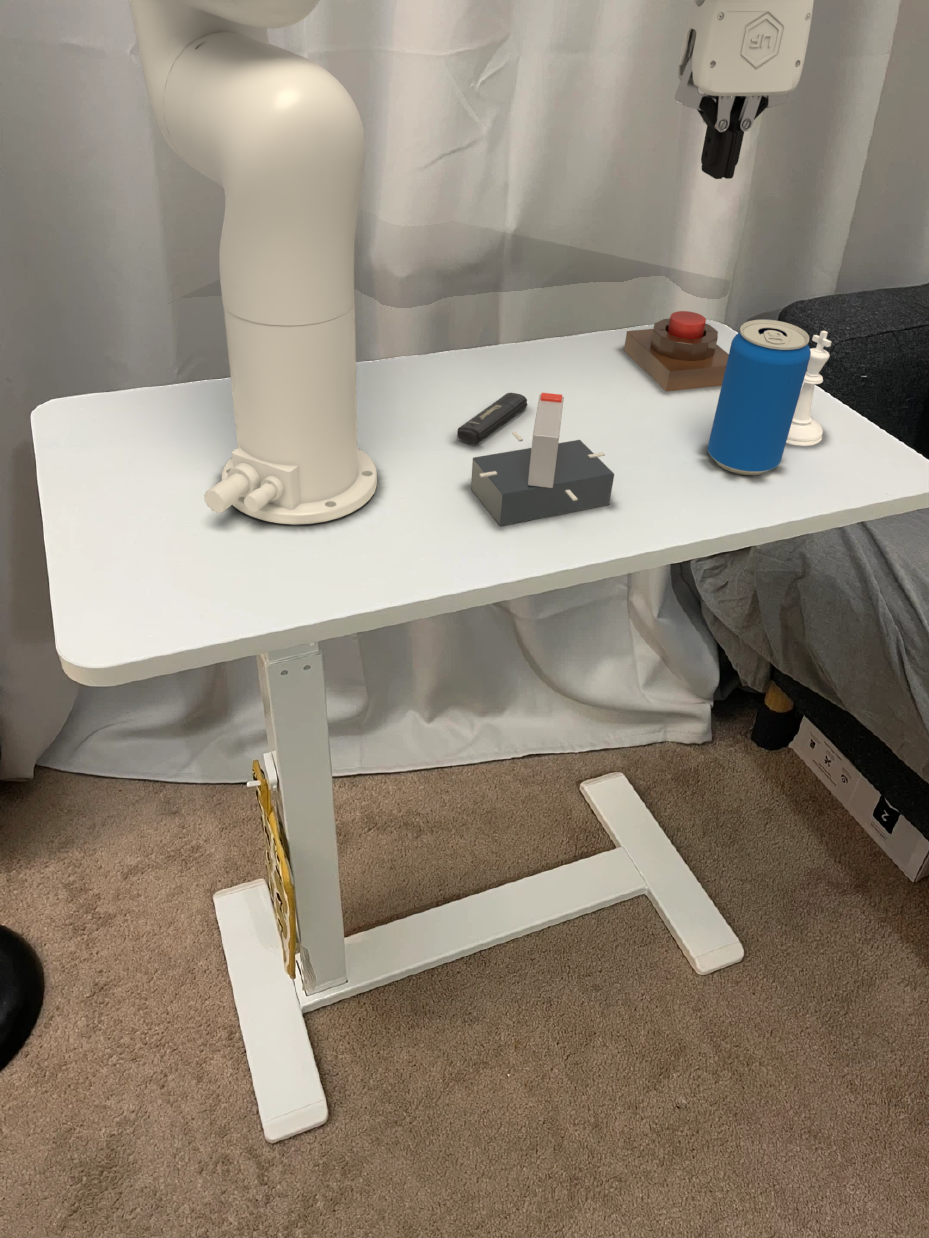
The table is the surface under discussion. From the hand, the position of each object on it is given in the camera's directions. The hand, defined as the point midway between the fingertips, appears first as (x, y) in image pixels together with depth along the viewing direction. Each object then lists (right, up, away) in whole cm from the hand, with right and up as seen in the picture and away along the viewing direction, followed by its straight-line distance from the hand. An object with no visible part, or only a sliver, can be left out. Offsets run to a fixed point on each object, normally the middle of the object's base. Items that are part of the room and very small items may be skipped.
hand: (716, 174), depth 93 cm
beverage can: (+2, -27, -3) cm, 27 cm away
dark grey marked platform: (-17, -31, -9) cm, 37 cm away
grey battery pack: (-17, -29, -11) cm, 35 cm away
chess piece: (+8, -24, +2) cm, 25 cm away
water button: (-1, -12, +10) cm, 15 cm away
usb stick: (-21, -23, 0) cm, 31 cm away
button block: (-1, -15, +12) cm, 19 cm away
